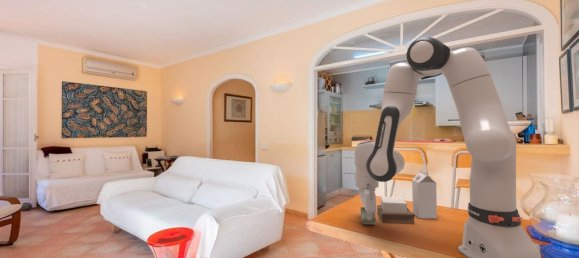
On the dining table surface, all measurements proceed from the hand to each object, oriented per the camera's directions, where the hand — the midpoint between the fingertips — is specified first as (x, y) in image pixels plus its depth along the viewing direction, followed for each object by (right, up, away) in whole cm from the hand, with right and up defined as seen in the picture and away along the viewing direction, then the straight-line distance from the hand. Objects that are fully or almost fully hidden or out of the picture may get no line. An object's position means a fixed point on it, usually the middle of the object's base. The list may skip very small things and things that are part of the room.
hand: (367, 216), depth 104 cm
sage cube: (0, -2, 0) cm, 2 cm away
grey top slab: (+13, +1, +6) cm, 14 cm away
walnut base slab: (+13, -3, +6) cm, 15 cm away
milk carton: (+26, -2, +7) cm, 27 cm away
